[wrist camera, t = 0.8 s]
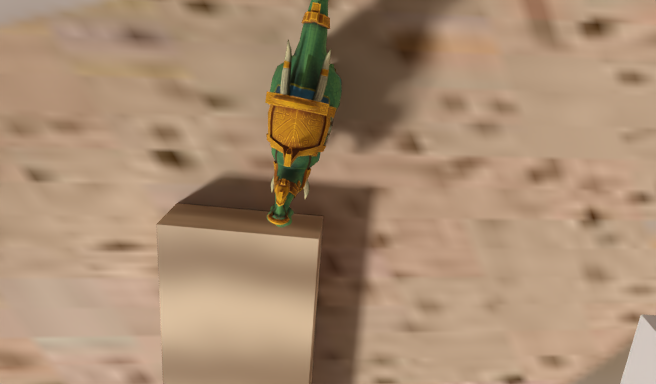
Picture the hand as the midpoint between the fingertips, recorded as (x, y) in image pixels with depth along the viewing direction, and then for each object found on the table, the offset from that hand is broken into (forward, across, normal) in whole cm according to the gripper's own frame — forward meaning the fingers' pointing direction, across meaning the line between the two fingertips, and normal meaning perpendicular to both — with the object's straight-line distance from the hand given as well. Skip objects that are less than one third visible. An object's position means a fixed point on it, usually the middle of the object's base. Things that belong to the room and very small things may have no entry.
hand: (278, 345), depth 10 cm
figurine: (+18, -1, +2) cm, 18 cm away
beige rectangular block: (+18, -4, -13) cm, 22 cm away
